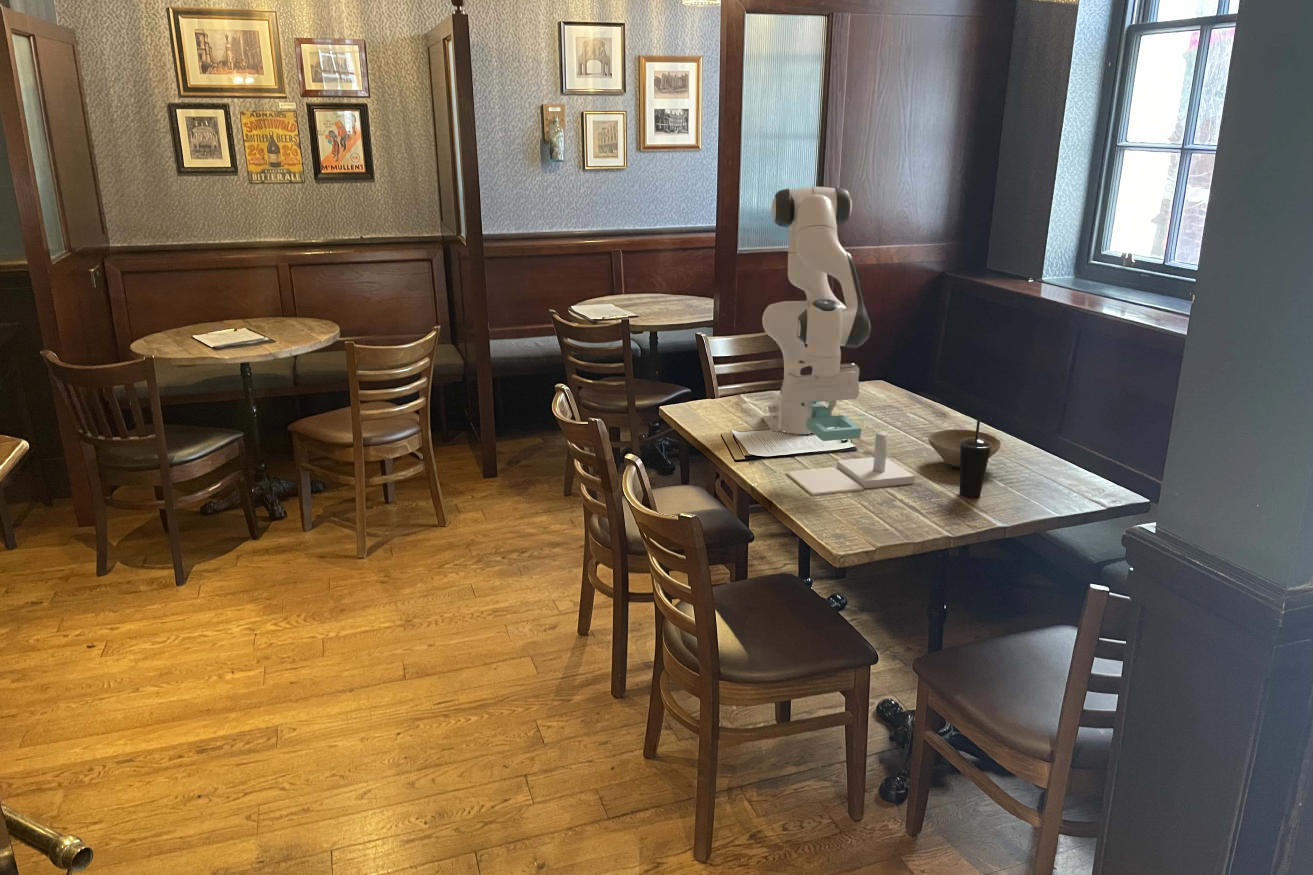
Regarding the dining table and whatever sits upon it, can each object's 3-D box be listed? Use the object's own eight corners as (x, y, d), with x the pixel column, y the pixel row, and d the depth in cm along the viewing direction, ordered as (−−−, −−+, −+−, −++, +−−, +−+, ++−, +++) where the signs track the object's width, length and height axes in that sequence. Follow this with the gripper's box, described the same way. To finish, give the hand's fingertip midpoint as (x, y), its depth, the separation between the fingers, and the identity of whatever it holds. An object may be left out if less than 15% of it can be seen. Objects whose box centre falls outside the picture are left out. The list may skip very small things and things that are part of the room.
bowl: (922, 473, 243) (924, 444, 241) (929, 452, 260) (932, 425, 257) (996, 482, 237) (999, 453, 235) (998, 460, 253) (1002, 432, 251)
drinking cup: (985, 502, 224) (995, 424, 218) (952, 498, 226) (961, 420, 220) (986, 491, 231) (995, 415, 224) (954, 487, 233) (963, 412, 227)
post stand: (836, 467, 247) (839, 424, 243) (883, 463, 251) (886, 421, 247) (865, 488, 232) (868, 443, 229) (914, 483, 236) (918, 438, 232)
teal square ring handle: (796, 419, 238) (797, 404, 237) (831, 416, 241) (832, 402, 239) (823, 441, 224) (824, 425, 222) (860, 437, 226) (861, 422, 225)
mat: (786, 473, 242) (786, 471, 242) (834, 469, 246) (834, 467, 246) (812, 495, 228) (812, 493, 227) (863, 490, 231) (863, 487, 231)
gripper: (853, 360, 238) (850, 411, 242) (780, 364, 232) (778, 417, 237) (865, 365, 232) (861, 418, 236) (790, 370, 227) (788, 423, 231)
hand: (819, 417), depth 236 cm, fingers closed on teal square ring handle, 3 cm apart
